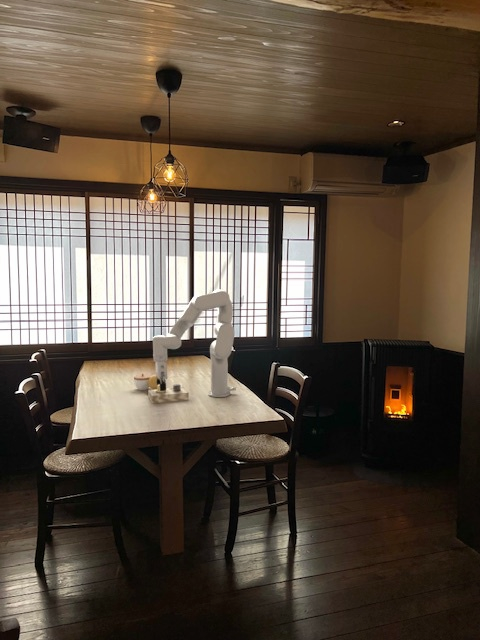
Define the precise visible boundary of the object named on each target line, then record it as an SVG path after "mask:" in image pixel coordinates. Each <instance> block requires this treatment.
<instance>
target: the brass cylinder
mask: <svg viewBox="0 0 480 640" xmlns="http://www.w3.org/2000/svg"><path fill="white" fill-rule="evenodd" d="M158 393H165V391H160V384H158V385H157V394H158Z"/></svg>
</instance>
